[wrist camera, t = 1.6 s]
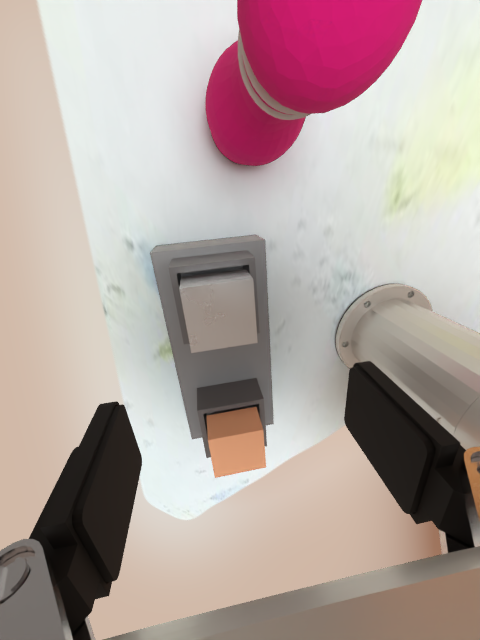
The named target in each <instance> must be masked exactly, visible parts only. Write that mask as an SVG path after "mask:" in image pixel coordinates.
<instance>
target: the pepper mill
mask: <svg viewBox="0 0 480 640" xmlns="http://www.w3.org/2000/svg"><path fill="white" fill-rule="evenodd" d="M421 2H422V0H237V15H238V24H239V36H238V41H236V42H235V43H233V44H232V45H231V46H230V47H229V48H227V49H226V50H225V51H224V52H223V54H222V55H221V56H220V57H219V59H218V61H217V62H216V64H215V66H214V68H213V71H212V73H211V76H210V79H209V83H208V87H207V92H206V115H207V121H208V124H209V128H210V130H211V134H212V137H213V140H214V142H215V144H216V146H217V148H218V149H219V150H220V152H221V153H222V154H223V155H224V156H225V157H227V158H228V159H229V160H231V161H232V162H235V163H238V164H242V165H252V166H258V165H264V164H267V163H270V162H272V161H274V160H276V159H278V158H279V157H280V156H281V155H283V154H284V153H285V152H286V151H287V150H288V149H289V148H290V147H291V146H292V144H293V143H294V142H295V140H296V139H297V137H298V135H299V133H300V131H301V129H302V126H303V123H304V121H305V118H306V116H308V115H310V114H312V113H325V112H328V111H330V110H333V109H336V108H338V107H341V106H344V105H346V104H347V103H349V102H350V101H352V100H354V99H355V98H357V97H358V96H359V95H361V94H362V93H363V92H364V91H366V90H367V89H368V88H369V87H370V86H371V85H372V84H373V83H374V82H375V81H376V80H377V79H378V78H379V77H380V76H381V75H382V73H383V72H384V71H385V70H386V69H387V67H388V66H389V65H390V64H391V62H392V61H393V59H394V58H395V56H396V55H397V53H398V52H399V50H400V49H401V47H402V45H403V43H404V41H405V39H406V37H407V35H408V33H409V32H410V30H411V28H412V26H413V24H414V22H415V20H416V17H417V14H418V11H419V8H420V5H421Z"/></svg>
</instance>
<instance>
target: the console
mask: <svg viewBox="0 0 480 640" xmlns="http://www.w3.org/2000/svg"><path fill="white" fill-rule="evenodd" d="M150 255H151V259H152V264H153V268H154V272H155V277H156V281H157V286H158V290H159V295H160V299H161V303H162V308H163V312H164V317H165V321H166V326H167V330H168V335H169V339H170V343H171V348H172V352H173V357H174V361H175V366H176V370H177V375H178V379H179V383H180V388H181V392H182V397H183V401H184V406H185V410H186V415H187V419H188V423H189V428H190V432H191V437H192V439H196V438H201V437H203V442H204V447H205V452H206V457H207V458H209V457H211V454H210V449H209V443H208V433H207V415H213V414H218V413H224V412H229V411H235V410H240V409H246V408H251V407H257V410H258V414H259V417H260V420H261V424H262V427H263V432H264V446H267V442H266V426H265V425H270V424H273V402H272V380H271V358H270V337H269V315H268V293H267V271H266V249H265V239H263V238H261V237H259V236H257V235H249V236H240V237H231V238H222V239H213V240H204V241H195V242H186V243H177V244H168V245H159V246H156V247H155V248H154V249H153V250H152V251H151V252H150ZM241 269H246V270H247V271H248V273H249V274H250V275H251V277H252V278H253V282H254V297H255V312H256V327H257V342H258V343H253V344H247V345H240V346H234V347H227V348H221V349H215V350H208V351H202V352H195V353H191V348H190V343H189V338H188V332H187V327H186V322H185V317H184V311H183V306H182V301H181V296H180V290H179V287H180V281H181V277H185V276H193V275H201V274H209V273H217V272H225V271H233V270H241Z"/></svg>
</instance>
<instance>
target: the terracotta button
mask: <svg viewBox="0 0 480 640" xmlns="http://www.w3.org/2000/svg"><path fill="white" fill-rule="evenodd" d="M207 433H208V443H209V449H210V454H211V459H212V464H213V470H214V475H215V478H216V477H221V476H226V475H231V474H235V473H240V472H245V471H250V470H255V469H260V468H265V467H266V462H265V447H264V432H263V427H262V424H261V420H260V417H259V414H258V410H257V407H251V408H246V409H240V410H235V411H229V412H224V413H218V414H213V415H207Z"/></svg>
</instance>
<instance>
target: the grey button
mask: <svg viewBox="0 0 480 640" xmlns="http://www.w3.org/2000/svg"><path fill="white" fill-rule="evenodd" d="M179 290H180V296H181V301H182V306H183V311H184V317H185V322H186V327H187V332H188V338H189V343H190V348H191V353H195V352H202V351H208V350H215V349H221V348H227V347H234V346H240V345H247V344H253V343H258V342H257V327H256V312H255V297H254V282H253V278H252V277H251V275H250V274H249V273H248V271H247V270H246V269H241V270H233V271H225V272H217V273H209V274H201V275H193V276H185V277H181V281H180V287H179Z"/></svg>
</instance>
